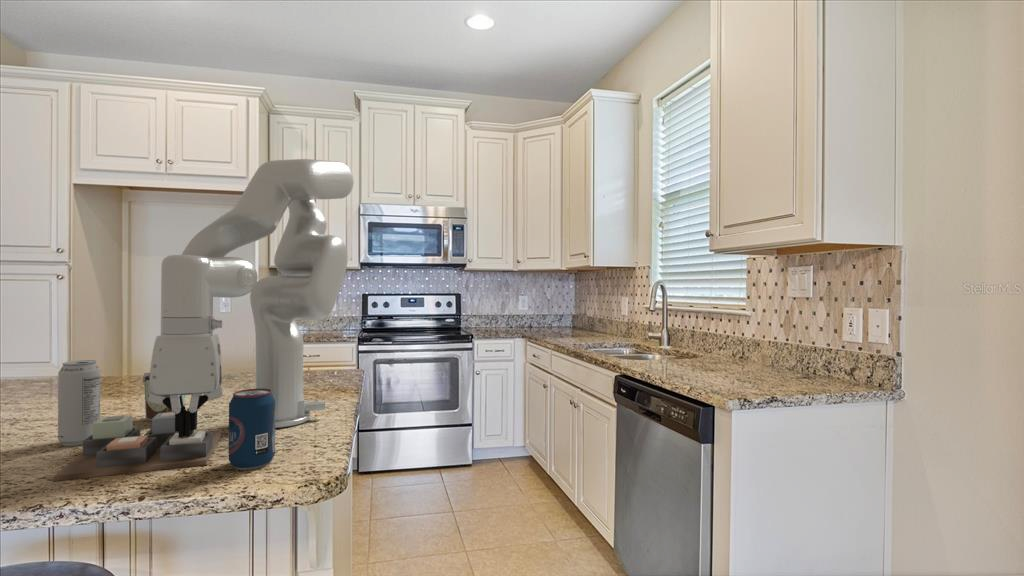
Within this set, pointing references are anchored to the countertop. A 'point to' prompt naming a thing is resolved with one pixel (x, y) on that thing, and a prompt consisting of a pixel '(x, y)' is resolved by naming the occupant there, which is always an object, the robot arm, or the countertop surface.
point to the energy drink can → (78, 401)
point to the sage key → (112, 427)
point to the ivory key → (188, 438)
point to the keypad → (138, 456)
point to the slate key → (163, 423)
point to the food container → (150, 407)
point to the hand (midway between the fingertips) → (186, 434)
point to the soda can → (251, 428)
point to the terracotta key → (127, 443)
